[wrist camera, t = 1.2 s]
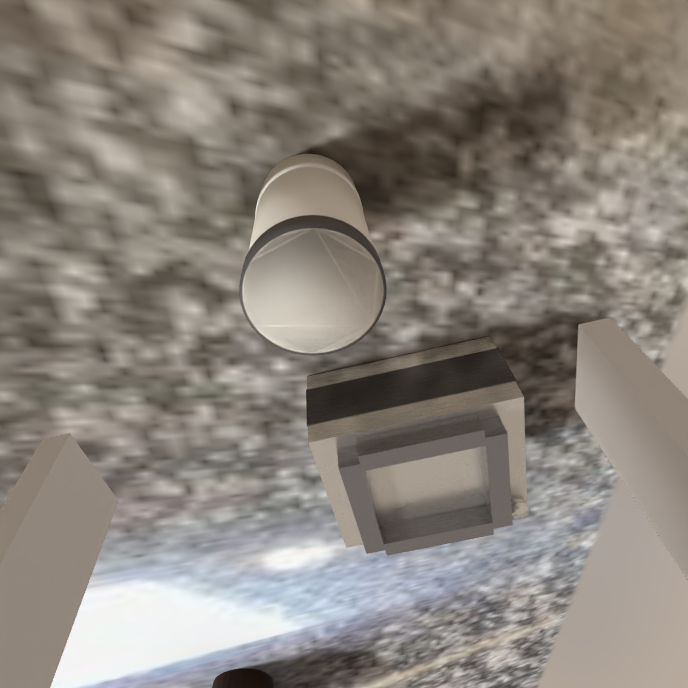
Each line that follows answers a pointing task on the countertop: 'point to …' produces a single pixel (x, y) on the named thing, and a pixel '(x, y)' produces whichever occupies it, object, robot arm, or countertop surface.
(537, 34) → the countertop surface
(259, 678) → the coffee mug
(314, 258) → the beige and black cylinder
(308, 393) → the grey square holder base
